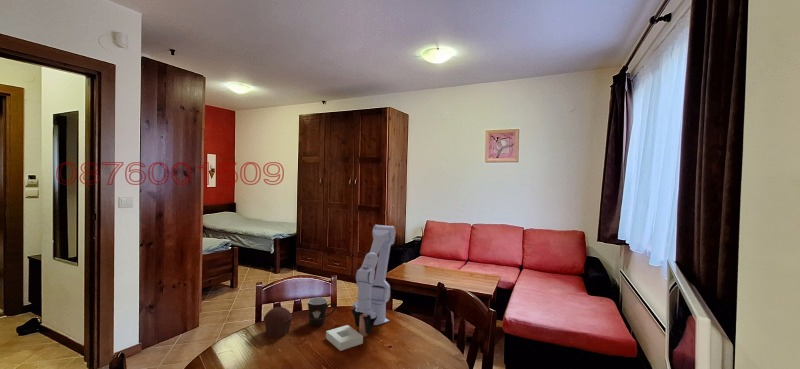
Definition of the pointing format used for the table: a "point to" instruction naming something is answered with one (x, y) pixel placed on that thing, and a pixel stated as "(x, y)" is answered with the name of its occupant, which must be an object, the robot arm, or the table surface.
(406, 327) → the table surface
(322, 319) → the coffee mug
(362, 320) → the dowel
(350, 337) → the socket block
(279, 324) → the muffin
